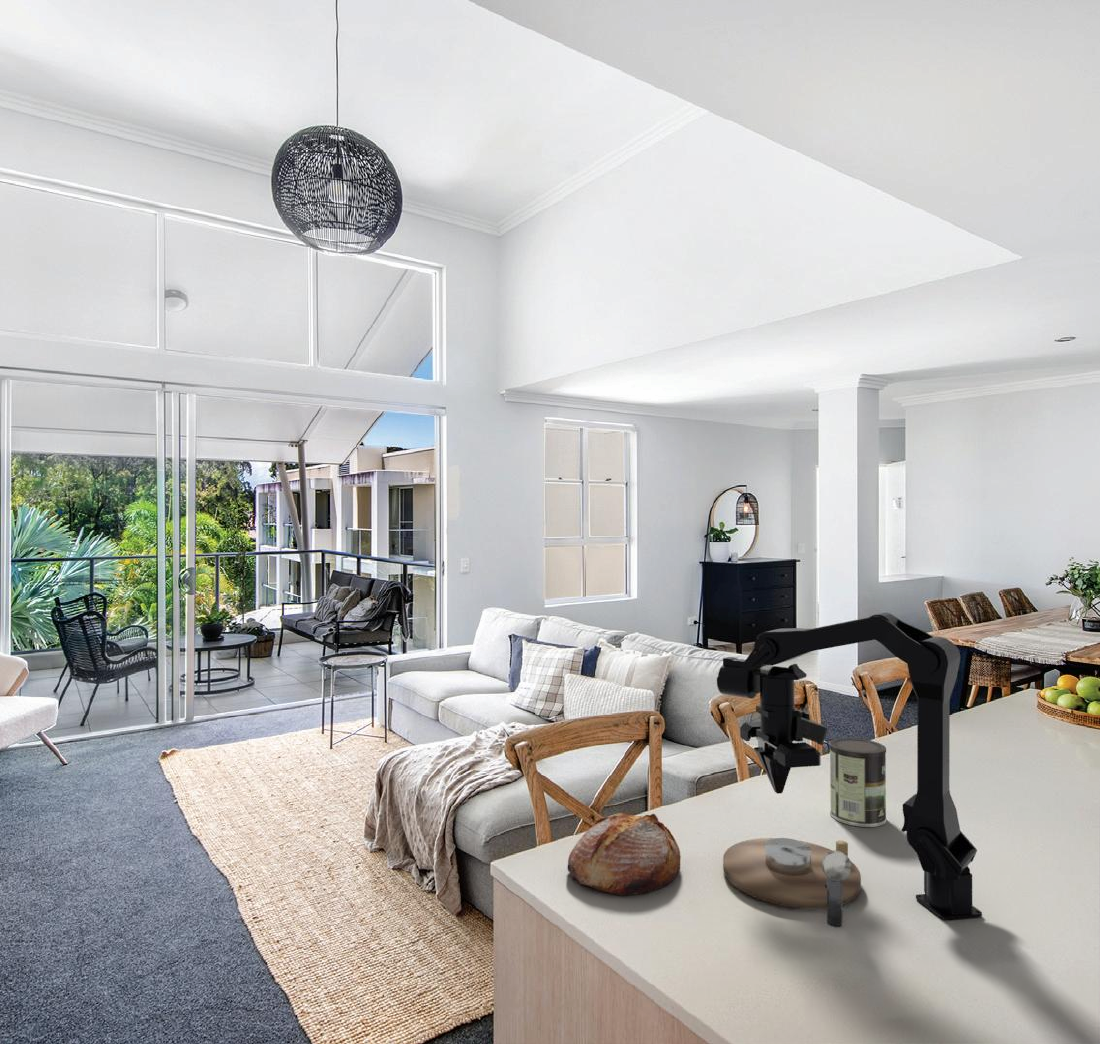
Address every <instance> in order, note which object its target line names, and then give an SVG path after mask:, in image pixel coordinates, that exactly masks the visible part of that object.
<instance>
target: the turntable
mask: <svg viewBox="0 0 1100 1044" xmlns="http://www.w3.org/2000/svg"><path fill="white" fill-rule="evenodd" d="M775 838H776V837H763V838H761V837H760V838H753V839H747V840H744V841H740V842H736V843H735V844H733V845H730V847H728V848H727V850H726V851H724V854H723V857H722V870H723V873H724V876H725V877H726V879H727V880H728V881H729V882H730V883H731V884H732V885H734V886H735V887H736V888H737V889H739V891H742V892H743V893H746V894H747V895H749V896H752V897H754V898H756V899H759V900H762V901H763V902H764V901H765V902H767V903H771V904H776V905H781V906H785V907H790V908H791V907H792V908H797V909H798V908H799V909H800V908H801V909H825V908H826V909H827V889H826V888H825V883H827V876H826V875H825V873H824V872H823V869H822V862H823V859H824V857H825V856H826V855H827V854H828V853H829V852H831V851H834V850H832V849H830V848H827V847H826V846H825V847H824V846H821V845H819V844H815V843H812V842H808V841H803V840H800V841H801V842H803V843H805V844H807V845H808V846H809V847H810V848H811V871H810V872H809V873H808V874H806V875H802V876H788V875H783V874H779V873H776V872H774V871H772V870H770V869H769V868H768V867H767V866H766V863H765V844H766V842H767V841H768V840H771V839H775ZM848 845H849V843H848V842H847V841H844V840H837V841H836V842H835V851H841V852H843V853H844V854H845V855H846V856H847V857H848V858H849V856H848V855H849V849H848V848H849V846H848ZM850 862H851V871H850V873H849V875H848V876H847V877H846V878H845V879H844V880H842V905H844V904H848V903H849V902H852V901H853V900H854V899H855V898H857V897H858V895H860V893H861V890H862V889H861V888H862V887H861V886H862V876H861V872H860V870H859V868H858V867H857V866H856V864H855V863H853V861H851V860H850Z"/></svg>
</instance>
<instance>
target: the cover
mask: <svg viewBox="0 0 1100 1044" xmlns="http://www.w3.org/2000/svg"><path fill="white" fill-rule="evenodd" d="M774 838H775V839H771V840H768V841H767V842H766V844H765V863H766V866H767V867H768V868H769V869H770V870H772V871H774V872H776V873H779V874H783V875H788V876H802V875H806V874H808V873H809V872H810V871H811V848H810V847H809V846H808V845H807V844H805V843H803V842H801V841H802V840H799V839H798V840H797V839H795V838H787V837H785V838H784V837H774Z"/></svg>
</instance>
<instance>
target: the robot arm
mask: <svg viewBox="0 0 1100 1044" xmlns="http://www.w3.org/2000/svg"><path fill="white" fill-rule="evenodd" d="M868 641H876V642H879V643H880V644H881V645H882V646H883V647H885V648H886V650H888V651H889V652H890V653H892V655H893V656H895V657H896V658H897V659H899V660H901V661H903V662H904V663H906V665H907V669H908V670H907V671H908V676H909V681H910V683H911V687H912V688H913V691H914V693H915V697H916V700H917V701H916V702H917V704H916V707H917V708H916V709H917V715H916V716H917V717H916V718H917V724H916V725H917V726H916V727H917V729H916V730H917V732H916V735H917V737H916V739H917V745H916V748H917V752H916V753H917V763H916V764H917V770H916V773H917V775H916V776H917V778H916V779H917V783H916V784H917V785H916V789H917V791H916V793H915V794H914V795H912V796H911V797H909V798H908V800H905V802H904V803H903V804H902V813H903V820H904V821H903V826H902V828H901V832H903V833H904V832H906V841H907V844H908V845H909V846H910V847H911V848H912V849H913V851H914V852H916V855H917V858H918V860H919V863H920V866H921V869H922V871H923V881H924V882H923V887H924V888H923V893H922V894H921V893H919V894H916V895H915V899H916V900H917V901H918V902H920V903H921V904H922V905H923V906H924V907H926V908H928V910H930V911H931V912H932V913H933V914H935V915H936V916H937V917H939V919H942V920H958V919H967V918H970V919H971V918H978V917H979V918H980V917H983V912H982V911H981V910H979V909H978V908H976V907H975V906H974V905H973V874H972V872H971V869H970V867H969V865H970V863H972V862H973V861H974V859H975V857H976V856H977V855H976V854H977V852H978V849H977V848H976V847H975V846H974V845H973V843H972V842H971V841H970V840H969V838H968V837H967V836H966V835H965V834H964V833H963V832H962V831H961V828H960V827H961V826H960V823H959V821H960V820H959V817H958V816H959V815H958V812H957V808H956V807H957V806H956V805H955V803H954V800H953V798H952V796H951V791H950V735H951V734H950V733H951V732H950V722H951V721H950V718H951V717H950V716H951V715H950V712H951V711H950V710H951V709H950V707H951V706H950V703H951V701H950V700H951V696H952V694H953V690H954V687H955V684H956V681H957V677H958V673H959V672H958V671H959V668H960V663H961V654H960V649H959V648H958V646H956V644H954V643H953V641H951V640H949V639H948V638H945V637H942V636H933V635H931V634H930V633H928V632H927V631H925V630H923V629H921V628H919V627H917V626H914V625H911V624H909V623H907V622H905V621H903V620H901V619H899V618H898V617H897V616H895V615H893V614H892V613H890V612H881V613H877V614H873V615H870V616H868V617H863V618H859V619H854V620H848V621H844V622H838V623H835V624H834V623H833V624H830V625H824V626H819V627H813V628H795V627H792V628H786V627H785V628H777V629H773V630H769V631H764V632H761V633H760V634H758V635H757V636H756V638H755V640H754V645H753V649H752V650H751V652H750V654H748V656H747V658H746V659H743V658H742V659H741V658H736V657H734V656H727V657H724V658H723V659H722V665H721V667H720V668H719V669H718V670H719V671H718V675H717V677H716V686H717V689H718V692H719V693H720V694H722V695H725V696H726V695H727V696H733V697H739V698H747V699H754V698H755V697H756V696H757V694H759V705H756V706H755V712H756V713H758V714H759V715H760V717H759V719H760V720H759V721H748V722H747V721H746V722H744V723H743V724H742V725H741V726H740V727H739V731H740V734H739V735H740V736H739V737H740V739H742V740H744V741H745V742H750V740H751V738H756V740H757V747H754V748H753V750H754V752H755V753H756V755H757V757H758V759H759V761H760V763H761V765H762V767H763V769H764V772H765V774H766V775H767V778H768V780H769V782H770V785H771V787H772V789H773V791H774V792H775V794H779V795H780V794H783V793H784V790H785V786H786V783H787V781H788V777H789V775H790V774H789V773H790V772H791V768H804V767H807V768H808V767H820V766H821V764H822V763H821V762H822V761H821V756H822V755H821V752H820V751H819V750H818V749H817V748H816V747H814V746H813V745H810V744H809V743H807V742H806V741H804V739H805V740H809V741H812V742H815V743H816V744H817V745H820V746H823V745H824V743H825V740H826V736H827V734H828V730H829V727H827V726H825V725H823V724H821V723H819V722H817V721H814V720H812V719H811V717H810V713H807V712H805V711H803V710H800V709H796V706H795V681H800V680H803V679H804V678H807V673H806V672H805V671H804V670H803V669H801V668H800V667H799V665H798V663H792V664H790V665H788V667H785V666H778V665H779V664H782V663H785V662H789V661H791V660H794V659H797V658H800V657H802V656H804V655H807V654H810V653H811V652H815V651H820V650H825V649H831V648H836V647H837V648H838V647H843V646H847V645H853V644H858V643H863V642H868ZM775 665H777V666H775ZM767 666H772V667H771V668H769V669H764V667H767ZM762 668H763V669H762Z"/></svg>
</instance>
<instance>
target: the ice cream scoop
mask: <svg viewBox="0 0 1100 1044" xmlns="http://www.w3.org/2000/svg"><path fill="white" fill-rule="evenodd" d="M850 861H851V859H850V858H849V856H848V857H847V856H846V855H845V854H844V853H843V852H841V851H836V850H833V851H831V852H829V853H828V854H827V855H826V856H825V857H824V859H823V862H822V869H823V872H824V873H825V875H826V876H827V883H825V888H826V889H827V908H826V923H827V925H828V926H831V927H833V928H840V927H842V926H843V904H842V880H844V879H845V878H846V877H847V876H848V875H849V873H850V871H851V862H852V861H851V862H850Z"/></svg>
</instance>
